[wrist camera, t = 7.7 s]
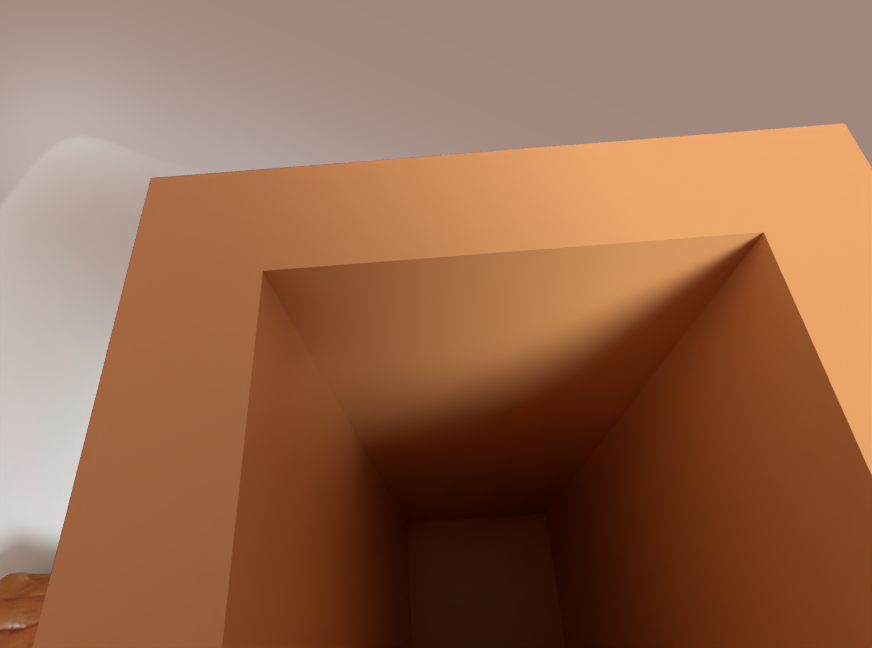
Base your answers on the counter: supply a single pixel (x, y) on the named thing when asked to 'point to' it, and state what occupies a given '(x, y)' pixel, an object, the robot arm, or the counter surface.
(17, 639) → the pastry
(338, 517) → the orange hollow square block
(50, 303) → the counter surface
